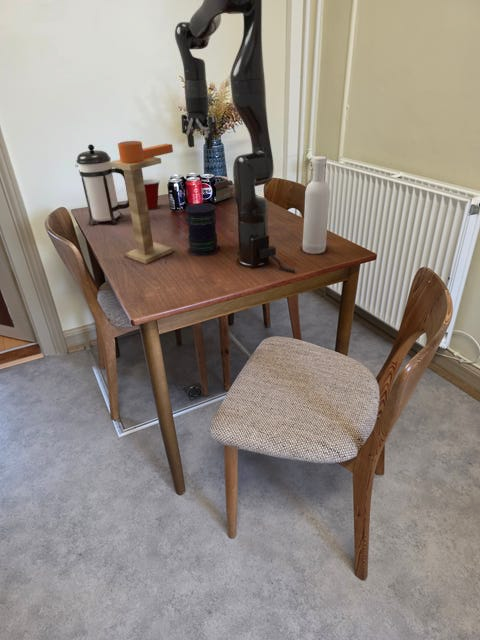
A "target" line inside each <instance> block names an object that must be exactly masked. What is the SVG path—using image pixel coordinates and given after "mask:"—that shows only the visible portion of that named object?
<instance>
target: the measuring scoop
mask: <svg viewBox="0 0 480 640" xmlns="http://www.w3.org/2000/svg"><path fill="white" fill-rule="evenodd" d="M117 149H118V154H119V160H121V162H122V163H136V162H141V161H143V160H144V159H146V158H151V157H159V156H163V155H166V154H167V155H168V154H171V153H174V149H173V144H172V143H162V144H157V145H153V146H149V147H144V148H143V142H142V141H140V140H125V141H121V142H118V143H117Z"/></svg>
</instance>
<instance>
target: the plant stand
mask: <svg viewBox="0 0 480 640" xmlns="http://www.w3.org/2000/svg"><path fill="white" fill-rule="evenodd" d="M160 164H162V158H161V157H158V156H155V157H151V158H146V159H144V160H143V161H141V162H136V163H122V162H121V160H120V159H116V160H110V162H109V165H110V167H112V169H113V168H118V169H122V170H123V171H124V177H125V180H124V184H125V183H126V185H125V189H126V188H127V191H126V195H127V194H128V197H127V201H128V200H129V211H130V217H131V221H132V227H133V234H134V239H135V245H136V248H135V249H132V250H130V251H126V252H125V255H126V258H129V259H132V260H135V261H137V262H140V263H143V264H144V265H145V264H146V265H147V264H149V263H151V262H154V261H155V260H158V259H160V258H162V257H164V256H165V257H166V256H167V255H169V254H171V253H173V248H172V247H170V246H167V245H164V244H161V243H158V242H154V241H153V234H152V228H151V227H152V226H151V221H150V214H149V209H148V206H147V200H146V193H145V187H144V180H145V179H144V174H143V173H144V172H143V169H144V168H149V167H153V166H156V165H160ZM124 177H123V178H124Z"/></svg>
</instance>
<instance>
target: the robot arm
mask: <svg viewBox="0 0 480 640" xmlns="http://www.w3.org/2000/svg"><path fill="white" fill-rule="evenodd" d="M262 5H263V0H203V2H202V3H201V5H200V6H199V8H198V9H197V10H196V11H195V12H194V14H192V16H191V17H190V20H189V21H180V22H178V23H177V24H176V26H175V29H174V39H175V44H176V46H177V49H178V52H179V56H180V60H181V62H182V67H183V79H184V99H185V110H186V112H187V113H185V114H181V132H182V134H185V135H186V138H187V145H188V148H194V147H195V137H194V135H195V134H194V133H195V131H196V130H200V131H201V132H202V133H203V134H204V136H205V148H206V150H212V149H213V146H214V144H213V142H214V141H213V137H214V136H217V135H218V128H217V117H216V116H215V115H209V114H208V112H209V109H210V108H209V92H208V91H209V89H208V83H207V72H206V61H205V60H204V59H202V58H199V57H195V56H194V55H193V53H192V51H191V50H203V49H205V48H207V47H208V46H209V43H210V39H211V37H212V35H214V34H215V32H217V31H218V29H219V28H220V26H221V22H222V15H223V14H227V15H242V18H243V31H242V38H241V43H240V45H239V49H238V51H237V54H236V56H235V58H234V61H233V62H232V66H231V70H230V73H229V74H230V75H229V81H230V91H231V100H232V105H233V107H234V109H235V111H236V113H237V115H238V116H239V118H240V119H241V121H242V123H243V124H244V126H245V128H246V130H247V132H248V134H249V138H250V144H251V152H249V153H244V154H240V155H238V156H236V157H235V159H234V161H233V165H232V178H233V180H232V181H233V192H234V198H235V202H236V206H237V207H236V208H237V233H238V236H237V237H238V251H237V256H238V262H239V263H240V264H241V265H243V266H246V267H251V268H252V269H253V268H254V269H255V268H257V267H261V266H264V265H268V264H270V258H272V259H273V260H274V261H275V262H276V263H277V264H278V266H279V268H280V269H281V270H283V271H285V272H292V273H295V272H296V270H295V269H292V268H286V267H284V266H283V265H282V263H281V261H280V260H279V259H278V258H277V257H276V255H277V254H276V253H277V252H276V251H277V250H276V249H277V248H276V246H274V245H270V235H269V233H268V231H269V228H268V227H269V219H268V218H269V203H268V199H267V198H266V197H265V196H261V195H257V194H256V187H258V186H259V187H260V186H263V185H266V184H268V183H270V182H271V181H272V179H273V178H274V173H275V171H274V170H275V169H274V168H275V167H274V165H275V164H274V157H273V151H272V144H271V139H270V138H271V137H270V130H269V122H268V121H269V120H268V112H267V111H268V110H267V93H266V91H267V90H266V77H265V67H264V54H263V6H262Z"/></svg>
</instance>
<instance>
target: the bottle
mask: <svg viewBox="0 0 480 640" xmlns="http://www.w3.org/2000/svg"><path fill="white" fill-rule="evenodd" d="M312 164H313V165H312V166H313V168H312V171H313V172H312V180H311V182H309V183H308V184H307V186H306V189H305V191H304V193H305V195H304V211H303V213H304V214H303V231H302V233H303V235H302V251H303V252H304V253H306V254H310V255H311V254H312V255H319V254H322V253H324V252H326V248H327V236H328V223H329V209H330V199H331V198H330V197H331V189H330V185H329V184H328V183H327V182H326V180H325V177H326V175H325V174H326V164H327V158H326V157H325V156H324V155H323V156H322V155H317V156H314V157H313V161H312Z"/></svg>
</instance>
